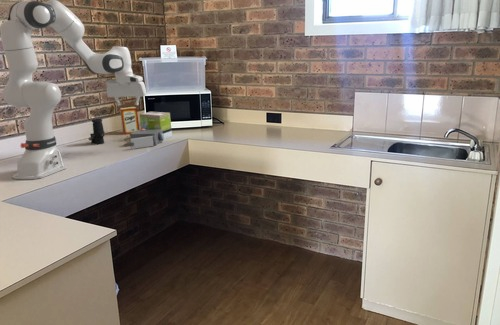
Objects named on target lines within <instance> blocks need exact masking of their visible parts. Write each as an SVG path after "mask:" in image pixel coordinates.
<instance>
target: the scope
mask: <svg viewBox="0 0 500 325" xmlns="http://www.w3.org/2000/svg"><path fill="white" fill-rule="evenodd" d="M91 123H92V131H93V133H90V137H88V140H89V141H91V144H96V145H103V144H105V139H104V137H105V136H106V135H105V130H104V125H103V118H93V119H91Z"/></svg>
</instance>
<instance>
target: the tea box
mask: <svg viewBox="0 0 500 325" xmlns="http://www.w3.org/2000/svg"><path fill="white" fill-rule="evenodd" d="M139 121H140V130H141V129H162V132H163V134H164V139H163V141H164V140H167V139H170V138H172V137H173V132H172V131H173V129H172V120H171V112H163V111H161V112H160V111H148V112H144V113H140V114H139Z"/></svg>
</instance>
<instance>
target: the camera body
mask: <svg viewBox="0 0 500 325" xmlns="http://www.w3.org/2000/svg"><path fill="white" fill-rule="evenodd" d="M148 136H154V138H155V145H154V146H157V145H158V144H160V143H162V142H163V141H164V140H165V139H164V134H163V132H162V129H141V128H140V129H139V130H137V131H135V132H133V133H131V134H129V138H130V139H134V138H141V137H148ZM130 139H129V140H130ZM163 139H164V140H163Z"/></svg>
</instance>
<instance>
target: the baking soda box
mask: <svg viewBox="0 0 500 325" xmlns="http://www.w3.org/2000/svg"><path fill="white" fill-rule="evenodd" d="M119 111H120V112H119V113H120V119H121V127H122V133H123V135H124V136H125V135H130V134H131V133H133V132H135V131H137V130H140V124H139V117H138V108H137V106H129V107H120V108H119Z"/></svg>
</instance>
